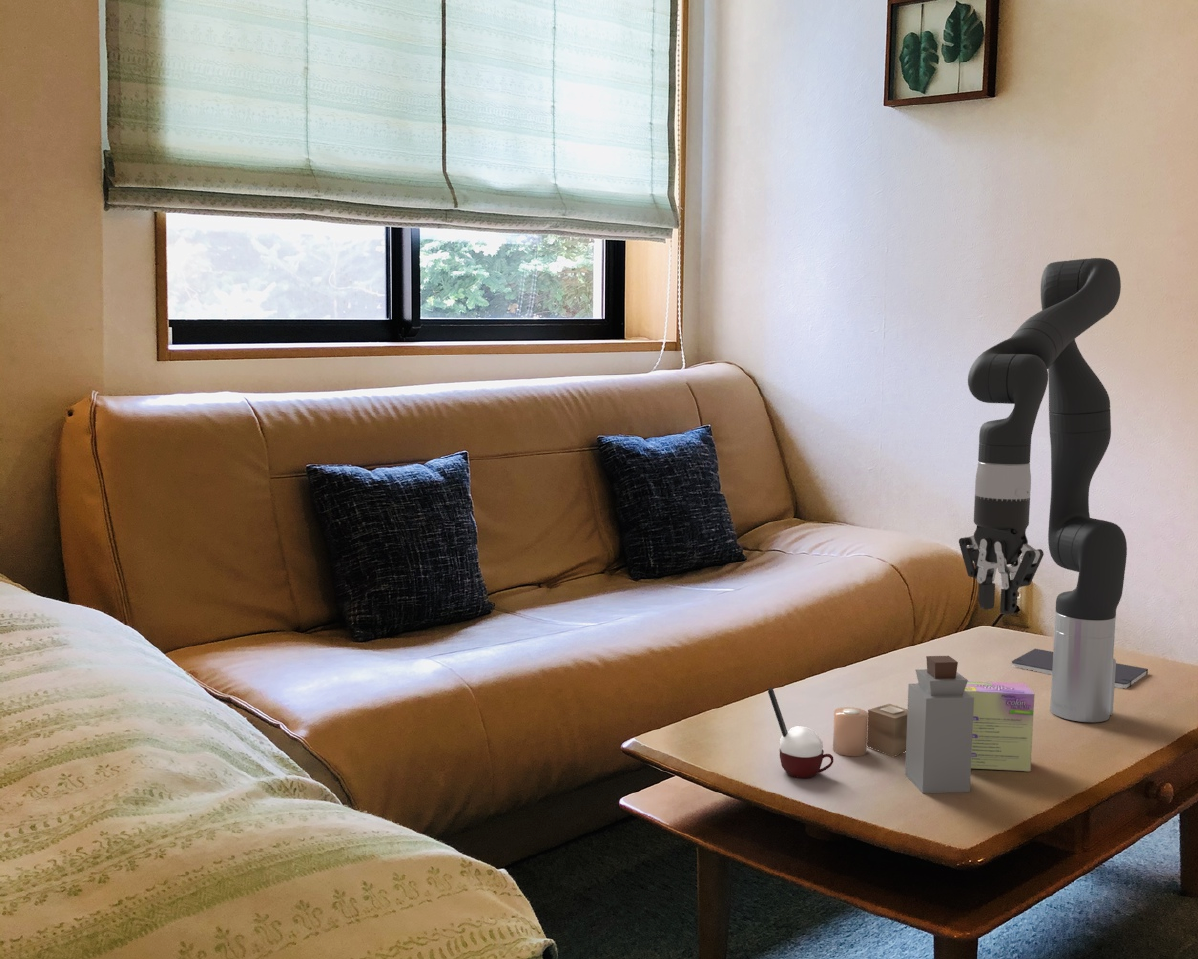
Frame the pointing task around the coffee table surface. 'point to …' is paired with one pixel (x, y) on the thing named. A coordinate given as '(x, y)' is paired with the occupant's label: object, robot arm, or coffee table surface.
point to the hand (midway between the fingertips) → (996, 610)
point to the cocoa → (799, 747)
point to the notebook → (1044, 664)
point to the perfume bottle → (939, 728)
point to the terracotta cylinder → (850, 731)
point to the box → (1001, 725)
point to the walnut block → (887, 729)
